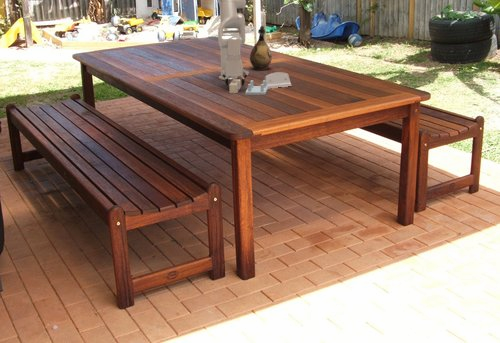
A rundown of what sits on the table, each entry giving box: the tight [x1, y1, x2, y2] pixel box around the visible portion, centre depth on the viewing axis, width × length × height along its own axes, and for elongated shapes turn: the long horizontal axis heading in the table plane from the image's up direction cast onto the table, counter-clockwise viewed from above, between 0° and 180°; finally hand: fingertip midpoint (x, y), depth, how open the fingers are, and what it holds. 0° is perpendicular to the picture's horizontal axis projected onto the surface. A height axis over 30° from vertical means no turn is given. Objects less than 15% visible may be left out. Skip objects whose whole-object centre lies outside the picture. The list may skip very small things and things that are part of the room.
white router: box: [264, 71, 292, 90], centre depth 439 cm, size 17×5×10 cm, turn 108°
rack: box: [244, 79, 269, 96], centre depth 427 cm, size 18×12×6 cm, turn 173°
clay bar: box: [228, 78, 242, 94], centre depth 432 cm, size 16×4×6 cm, turn 173°
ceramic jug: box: [249, 25, 273, 71], centre depth 493 cm, size 17×15×30 cm
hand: (235, 85), depth 432 cm, fingers open, 9 cm apart
